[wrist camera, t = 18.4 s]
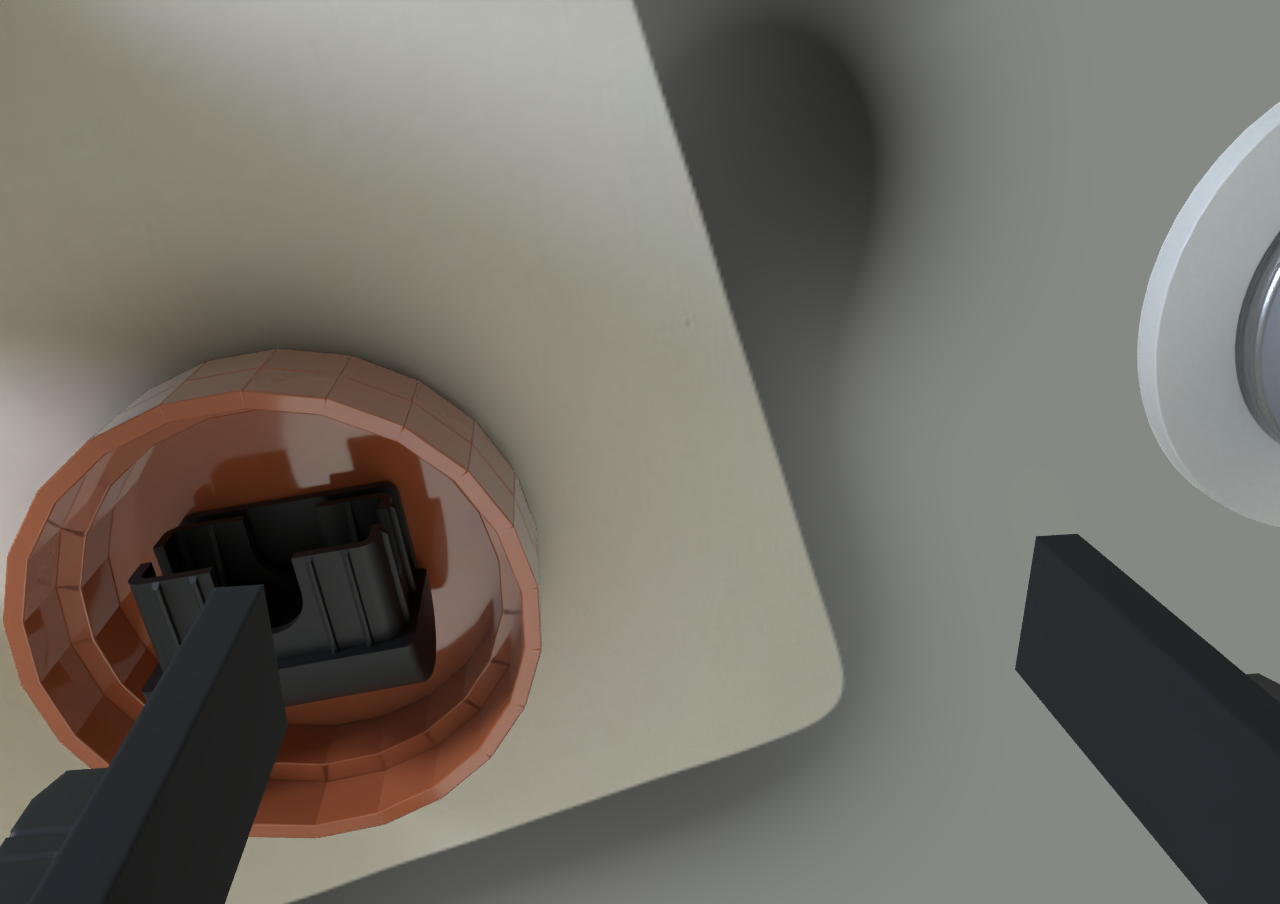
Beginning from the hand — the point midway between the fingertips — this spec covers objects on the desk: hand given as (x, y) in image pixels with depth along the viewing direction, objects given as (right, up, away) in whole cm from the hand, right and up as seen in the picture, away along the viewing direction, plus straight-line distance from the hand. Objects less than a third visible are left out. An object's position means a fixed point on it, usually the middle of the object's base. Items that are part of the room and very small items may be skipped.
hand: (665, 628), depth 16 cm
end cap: (-15, -2, +25) cm, 29 cm away
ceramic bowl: (-15, -2, +26) cm, 30 cm away
